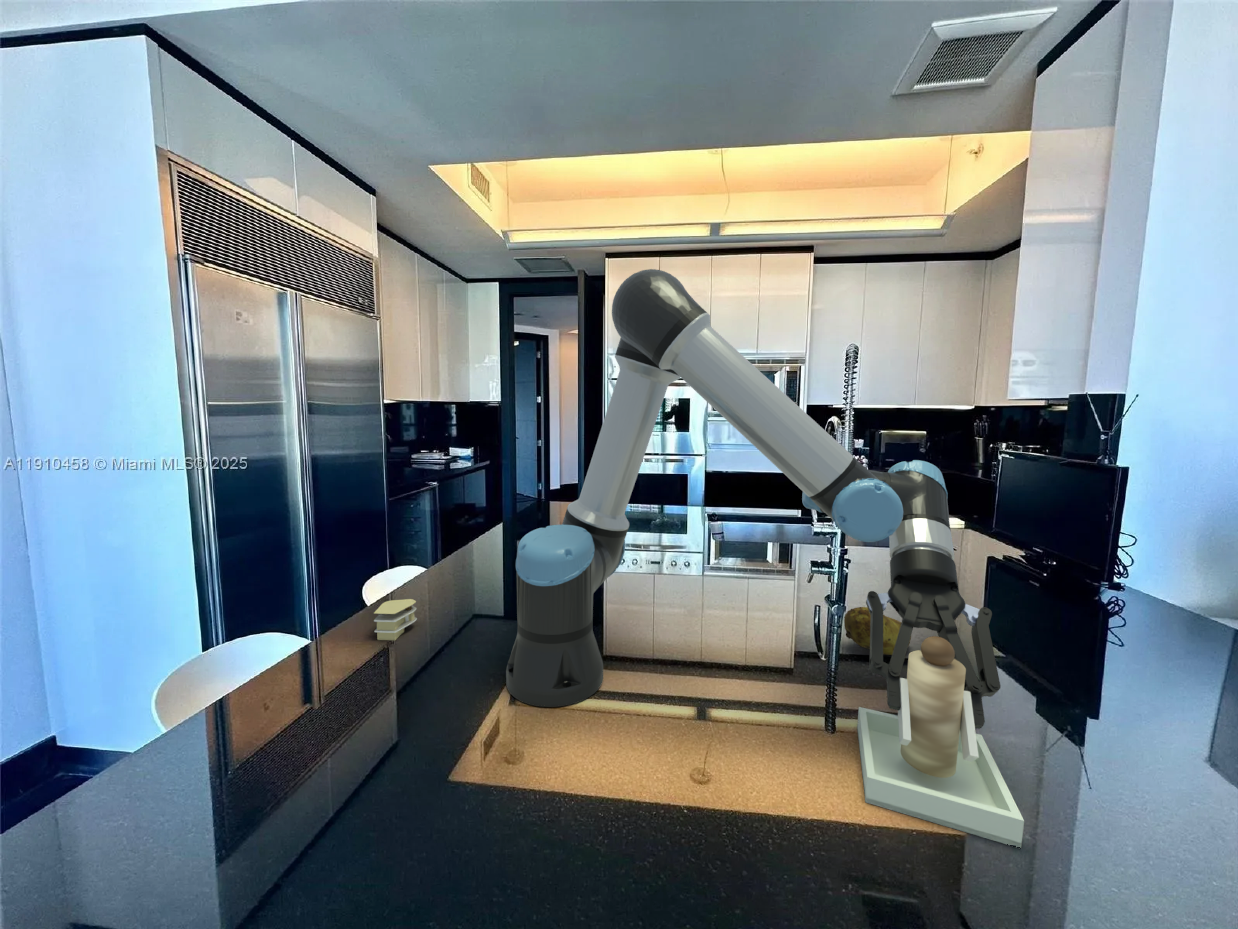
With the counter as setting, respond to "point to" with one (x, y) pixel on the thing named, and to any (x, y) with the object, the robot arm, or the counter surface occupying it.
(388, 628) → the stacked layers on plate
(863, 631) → the potato
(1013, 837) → the bin
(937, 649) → the pepper mill
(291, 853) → the counter surface
